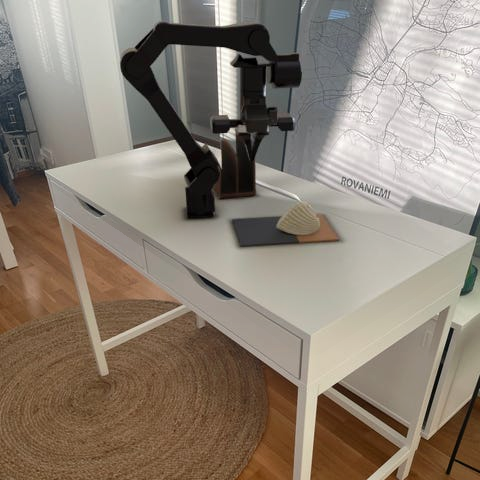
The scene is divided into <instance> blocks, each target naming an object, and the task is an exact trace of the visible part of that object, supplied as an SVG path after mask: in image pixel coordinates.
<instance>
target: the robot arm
mask: <svg viewBox="0 0 480 480" xmlns="http://www.w3.org/2000/svg"><path fill="white" fill-rule="evenodd" d="M270 37H271V36H270V33H269V30H268V29H267V27H266V26H265V25H263V24H261V23H257V22H254V21H244V22H237V23H231V24H227V25H211V24H198V23H197V24H195V23H183V22H182V23H181V22H180V23H179V22H169V21H165V20H159V21H157V22H155V24H154V25H153V27H152V28H151V30H149V31H148V32H147V34H145V35H144V36H143V37H142V39H141V40H139V41H138V42H137V44H136V45H135V46H133V47H128V48H126V49H125V50H123V51H122V53H121V55H120V57H119V67H120V68H119V69H120V72H121V74H122V76H123V78H124V79H125V80H126V81H127V82H128V83H129V84H130V85H131V86H132V87H133V88H134V89H135V90H136V91H137V92H138V93H139V94H140V95H141V96H142V97H144V98H145V100H147V102H148V103H149V105H150V106H151V108H152V109H153V110H154V112H155V113H156V115H157V116H158V117H159V119H160V120H161V122H162V123H163V125H164V126H165V128H166V129H167V131H168V132H169V134H170V135H171V136H172V138H173V139H174V141H175V143H177V145H178V146H179V148H180V149H181V151H182V152H183V154H184V156H185V158H186V160H187V162H188V164H189V166H190V168H189V170H187V171H186V172H185V174H184V175H183V179H184V182H185V184H186V186H184V194H185V195H184V196H185V215H186V218H187V219H204V218H206V219H207V218H214V217H215V214H214V213H216V203H215V202H216V201H215V193H214V192H213V189H214V187H213V185H214V184H215V183H216V182H217V181H218V179H219V177H220V170H219V168H218V166H219V165H220V166H221V164H220V161H217V160H218V158H217V157H216V155H215V154H214V153H213V154H214V155H215V156H214V155H213V154H212V153H211V151H212V150H211V149H210V147H209V145H208V143H207V142H206V143H204V144H203V145H202V146H201V144H199V143H198V142H197V140H196V139H195V138H194V136H193V134H191V132H190V130H189V129H188V128H187V126H186V124H185V123H184V121H183V120H182V118H181V117H180V115H179V114H178V112H177V111H176V109H175V108H174V106H173V105H172V103H171V102H170V100H169V99H168V97H167V96H166V94H165V92H163V89H162V88H161V86H160V84H159V82H158V80H157V78H156V75H155V74H154V72H153V69H152V65H153V64H154V63H155V62H156V61H157V60H158V58H159V57H160V55H161V54H162V53H163V52H164V50H165V49H166V48H167V47H168V46H169V45H174V46H175V45H176V46H192V47H210V48H224V49H228V50H232V51H235V52H238V53H236V55H235V57H234V58H233V59H232V60H231V61H230V62H229V64H230V67H233V68H234V69H236V68H237V69H239V118H230V117H229V116H228V115H229V114H213V115H211V116H210V119H209V122H210V126H209V127H210V131H211V133H212V134H214V135H216V134H228V132H230V131H231V129H234V131H236V132H235V134H236V133H237V135H238V136H242V138H243V141H244V143H245V146H246V150H247V153H248V156H249V160H250V162H253V161H254V159H255V160H256V156H257V154H258V150H259V149H260V145H261V143H262V141H263V139H264V138H265V137H266V136H269V135H270V130H269V129H270V127H272V128H273V127H277V128H278V129H279V130H280V132H294V131H295V129H296V128H295V127H296V121H295V120H296V119H295V118H294V117H293V116H292V115H291V114H290V113H289V112H278V111H279V110H278V107H277V106H269V107H268V106H267V99H266V97H267V96H266V95H267V94H266V91H267V84H269V85H270V86H271V88H272V89H274V90H275V89H276V90H277V89H297V88H300V86H301V84H302V78H303V71H302V66H301V60H300V54H299V53H298V52H290V53H277V52H276V50H275V48H274V47H273V45H272V44H271V40H270V39H271V38H270ZM240 53H242V54H246V55H249V56H251V57H243V55H241V54H240ZM258 56H259V57H260V58H262V59H264V60H266V61H258V59H257V57H258ZM251 140H252V148H251ZM210 150H211V151H210ZM216 158H217V159H216Z"/></svg>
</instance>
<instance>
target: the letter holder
mask: <svg viewBox="0 0 480 480" xmlns="http://www.w3.org/2000/svg"><path fill="white" fill-rule="evenodd" d="M234 131H235V130H234ZM251 148H252V139H251ZM210 151H211V153H212V154H213V155H214V156H215V157H216V155H215V153H214V152H213V151H212V150H211V149H210ZM220 155H221V156H220V157H221V159H220V160H221V164H220V165H219V166H218V168H219V170H220V177H219V179H218V181H217V182H216V183H215V184H214V185H213V189H214V191H215V192H216V194H217V196H218V197H219V199H227V198H239V197H249V196H251V197H253V196H256V194H257V188H256V187H257V183H256V182H257V179H256V178H257V177H256V173H257V172H256V158H255V159H254V161H253V162H250V160H249V156H248V153H247V150H246V146H245V143H244V141H243V138H242V136H238V135H237V133H236V131H235V149H234V148H233V147H232V145H231V144H230V142H228V140H227V139H225V138H221V140H220ZM216 159H217V161H218V157H216ZM218 162H219V161H218Z"/></svg>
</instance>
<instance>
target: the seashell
mask: <svg viewBox="0 0 480 480" xmlns="http://www.w3.org/2000/svg"><path fill="white" fill-rule="evenodd" d="M316 215H317V213H316V212H315V210H314V209H313V207H312V206H311V205H310V204H308V202H307V201H303V200H301V201H298V202H296V203H294V204H293V205H292V206H291V207H290V208H289V209H288V210H287V212H286V213H284V214H283V215H282V217H281V216H280V217H281V218H280V220H279V221H278V224H277V226H276V228H278V229H280V230H282V231H285V232H287V233H290V234H294V235H310V234H313V233H315V232H316V231H317V230H318V229H319V227H320V222H319V219H318V218H317V217H316Z"/></svg>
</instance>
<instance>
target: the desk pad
mask: <svg viewBox="0 0 480 480" xmlns="http://www.w3.org/2000/svg"><path fill="white" fill-rule="evenodd" d="M282 216H283V215H282ZM282 216H281V215H280V216H266V217H263V216H262V217H248V218H246V217H245V218H232V224H233V227H234V230H235V233H236V236H237V239H238V244H239V246H240V247H241V248H242V247H258V246H275V245H289V244H306V243H308V244H309V243H323V242H324V243H325V242H339V241H340V238H339V237H338V235H337V234H336V232H335V231H334V230H333V228H332V227H331V225H330V224H329V222H328V221H327V220H326V218H325V217H324V216H323V214H322V213H319V214H317V213H316V217H317V218H318V219H319V222H320V227H319V229H318V230H317V231H316V232H315V233H313V234H310V235H294V234H290V233H287V232H285V231H282V230H280V229H278V228H276V226H277V224H278V221H279V220H280V218H281V217H282Z"/></svg>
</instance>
